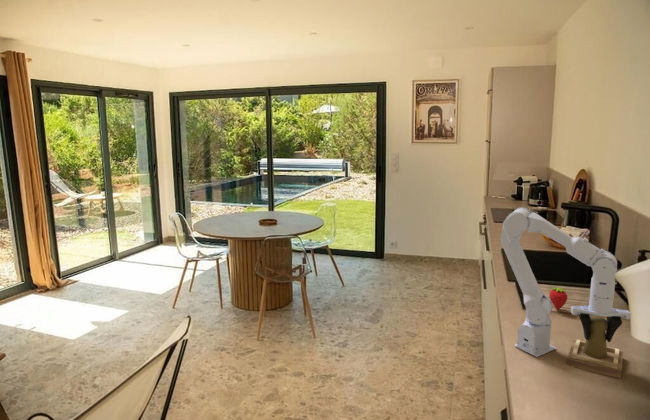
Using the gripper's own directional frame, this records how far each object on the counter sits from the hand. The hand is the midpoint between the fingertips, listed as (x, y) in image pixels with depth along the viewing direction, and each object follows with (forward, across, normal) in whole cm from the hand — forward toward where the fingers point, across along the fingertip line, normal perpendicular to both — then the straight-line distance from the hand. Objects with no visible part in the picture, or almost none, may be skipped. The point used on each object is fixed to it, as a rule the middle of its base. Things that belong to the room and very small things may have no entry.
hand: (597, 339), depth 127 cm
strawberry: (+7, +2, -38) cm, 38 cm away
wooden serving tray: (+7, 0, 0) cm, 7 cm away
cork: (+5, 0, -1) cm, 5 cm away
